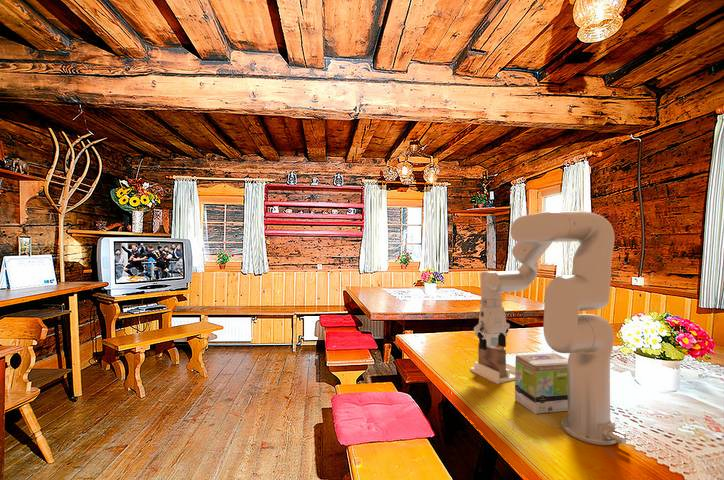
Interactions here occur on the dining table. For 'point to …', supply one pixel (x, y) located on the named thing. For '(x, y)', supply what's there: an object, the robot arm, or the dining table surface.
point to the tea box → (541, 382)
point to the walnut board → (493, 358)
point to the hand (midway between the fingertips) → (492, 347)
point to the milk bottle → (493, 340)
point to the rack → (494, 372)
